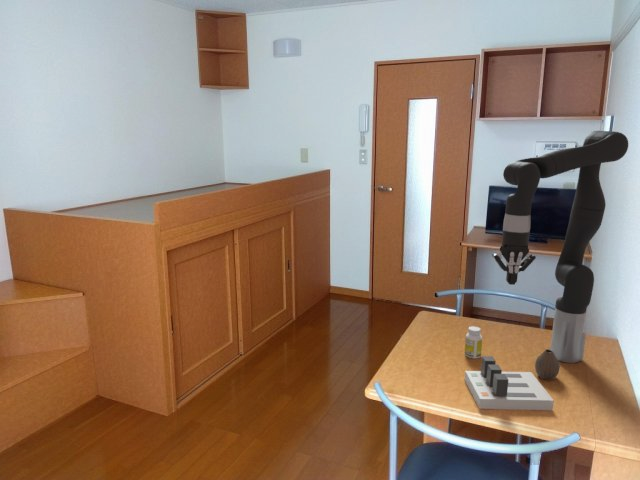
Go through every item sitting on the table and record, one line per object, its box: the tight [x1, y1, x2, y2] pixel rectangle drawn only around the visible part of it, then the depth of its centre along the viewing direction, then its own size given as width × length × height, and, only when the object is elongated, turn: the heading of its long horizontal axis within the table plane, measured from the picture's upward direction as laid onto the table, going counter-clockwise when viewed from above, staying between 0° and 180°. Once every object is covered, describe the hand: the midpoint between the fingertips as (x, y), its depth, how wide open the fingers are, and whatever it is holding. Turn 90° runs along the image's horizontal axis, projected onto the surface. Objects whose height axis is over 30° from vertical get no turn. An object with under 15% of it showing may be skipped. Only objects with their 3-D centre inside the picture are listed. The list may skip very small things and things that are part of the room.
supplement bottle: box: [464, 325, 483, 359], centre depth 166 cm, size 5×5×10 cm
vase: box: [534, 348, 560, 381], centre depth 151 cm, size 7×7×9 cm
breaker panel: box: [464, 355, 555, 411], centre depth 141 cm, size 20×16×8 cm
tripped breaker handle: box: [492, 374, 508, 396], centre depth 136 cm, size 3×3×5 cm
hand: (511, 283), depth 150 cm, fingers closed
